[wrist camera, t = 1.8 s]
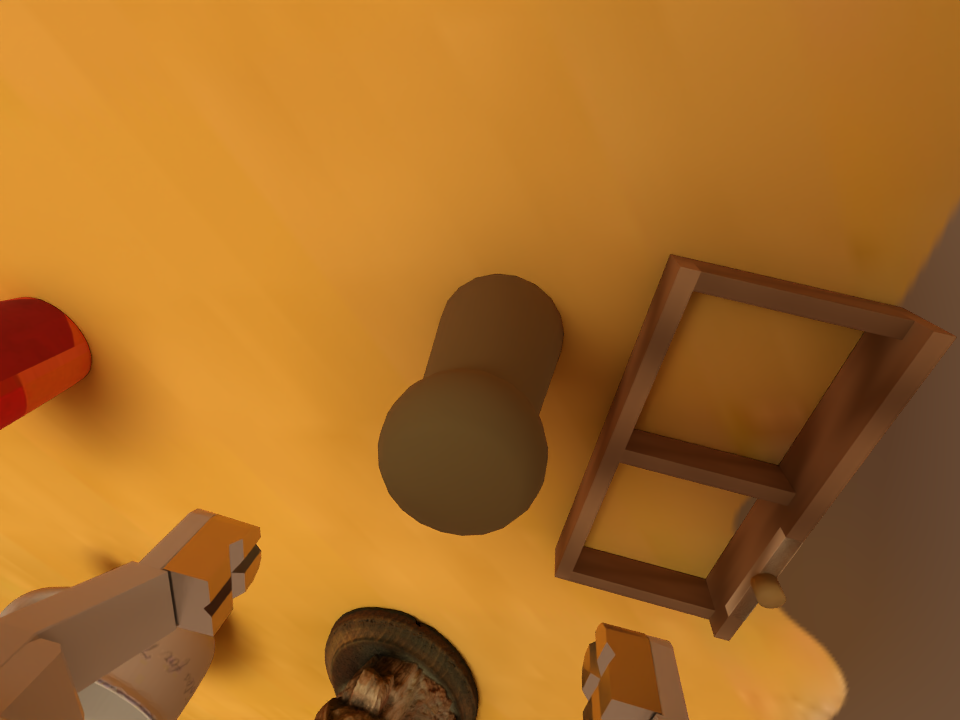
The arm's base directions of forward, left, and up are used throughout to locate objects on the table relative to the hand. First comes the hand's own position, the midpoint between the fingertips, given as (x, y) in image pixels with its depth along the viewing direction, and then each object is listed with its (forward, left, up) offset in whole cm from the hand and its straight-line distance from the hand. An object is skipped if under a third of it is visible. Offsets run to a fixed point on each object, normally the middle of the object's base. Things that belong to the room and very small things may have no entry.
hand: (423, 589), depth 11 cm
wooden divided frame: (+3, +11, -14) cm, 18 cm away
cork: (-1, 0, -14) cm, 14 cm away
